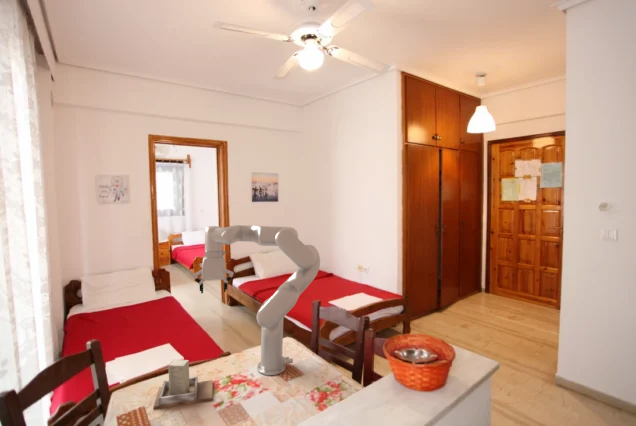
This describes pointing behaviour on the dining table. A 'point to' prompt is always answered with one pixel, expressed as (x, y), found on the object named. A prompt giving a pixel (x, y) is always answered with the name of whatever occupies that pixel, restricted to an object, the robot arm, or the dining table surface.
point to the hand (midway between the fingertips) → (213, 291)
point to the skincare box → (178, 377)
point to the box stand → (194, 395)
